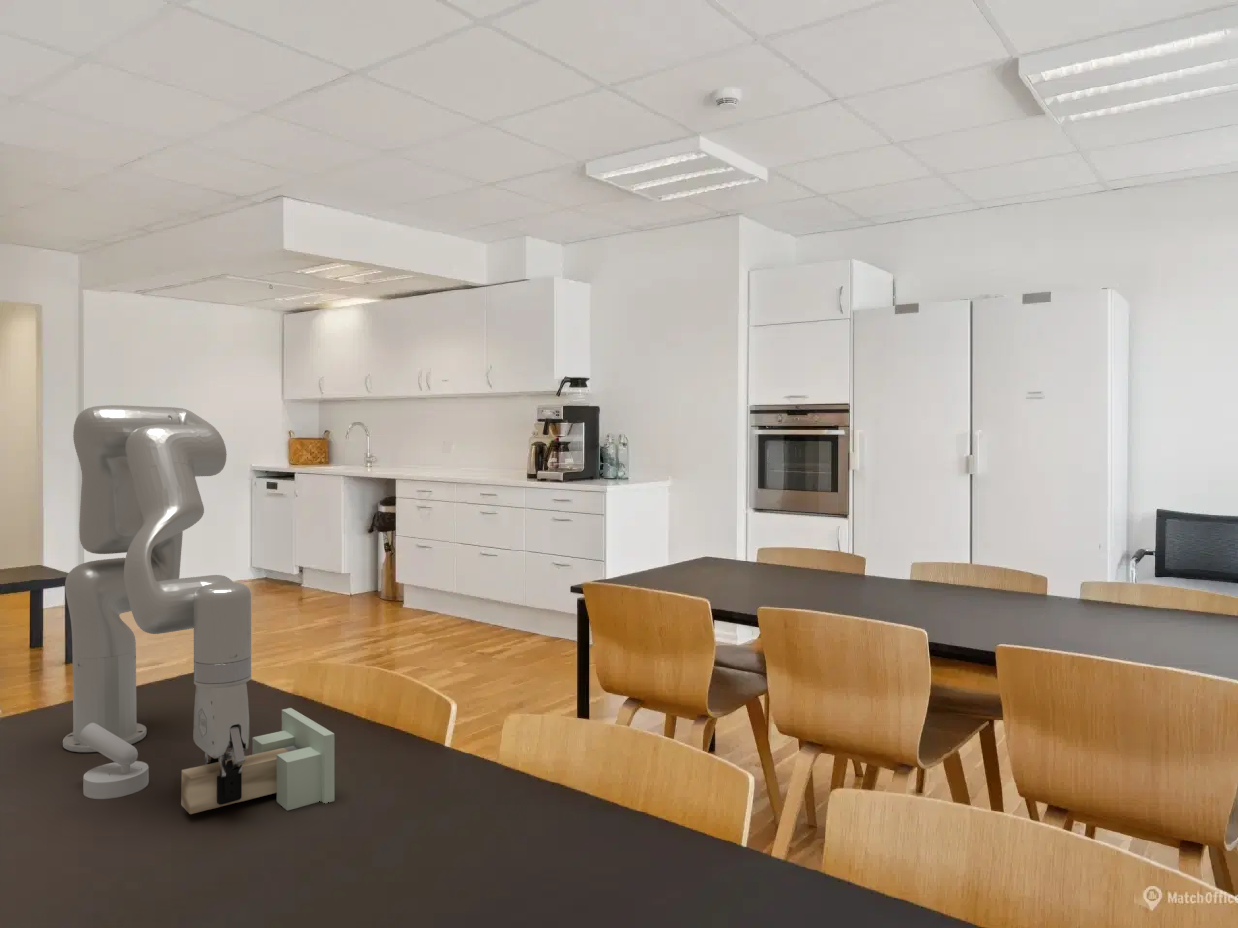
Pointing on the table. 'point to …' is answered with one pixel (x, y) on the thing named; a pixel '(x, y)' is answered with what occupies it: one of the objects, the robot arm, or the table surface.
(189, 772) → the rail
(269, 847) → the table surface
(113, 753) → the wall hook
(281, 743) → the sage panel with pillars
